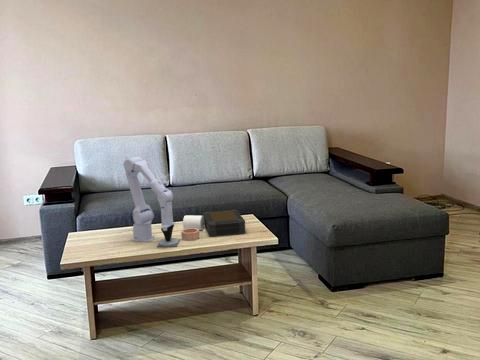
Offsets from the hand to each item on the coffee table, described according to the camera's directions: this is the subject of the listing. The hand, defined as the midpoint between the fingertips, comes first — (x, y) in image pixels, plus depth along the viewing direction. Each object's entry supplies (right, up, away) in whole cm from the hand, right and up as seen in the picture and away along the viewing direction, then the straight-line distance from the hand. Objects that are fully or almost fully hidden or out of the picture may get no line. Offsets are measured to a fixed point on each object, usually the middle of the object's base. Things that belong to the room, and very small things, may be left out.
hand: (168, 240), depth 257 cm
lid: (0, -1, 0) cm, 1 cm away
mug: (+11, +3, +25) cm, 28 cm away
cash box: (+28, +3, +22) cm, 36 cm away
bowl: (+10, 0, +9) cm, 14 cm away
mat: (0, -2, 0) cm, 2 cm away
